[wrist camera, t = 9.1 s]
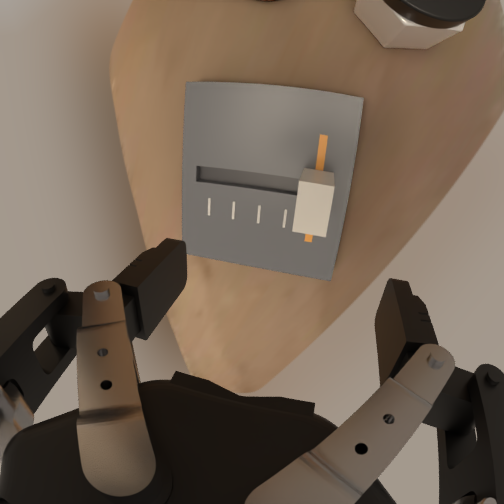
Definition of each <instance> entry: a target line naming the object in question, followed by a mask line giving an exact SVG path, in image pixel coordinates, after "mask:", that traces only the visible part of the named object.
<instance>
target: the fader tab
mask: <svg viewBox="0 0 504 504" xmlns="http://www.w3.org/2000/svg"><path fill="white" fill-rule="evenodd" d="M334 188H335V183H334V173H332V172H326V171H320V170H314V169H308V168H304V170H303V172H302V175H301V177H300V180H299V185H298V192H297V200H296V207H295V214H294V222H293V229H292V231H293V232H298V233H304V234H310V235H315V236H321V237H326V233H327V228H328V222H329V217H330V211H331V206H332V200H333V194H334Z"/></svg>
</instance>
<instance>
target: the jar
mask: <svg viewBox="0 0 504 504" xmlns="http://www.w3.org/2000/svg"><path fill="white" fill-rule="evenodd" d="M484 4H485V0H356V3H355V8H354V13H355V14H356V16H357V17H358V18H359V19H360V20H361V21H362V22H363V23H364V25H365V26H366V27H367V28H368V29H369V30H370V31H371V33H372V34H373V35H374V36H375V37H376V39H377V40H378V41H379V42H380V44H381V45H382V46H383V47H384V48H412V49H429V48H431V47H432V46H434V45H436V44H438V43H440V42H442V41H444V40H445V39H447V38H449V37H451V36H453V35H455V34H457V33H459V32H461V31H462V30H463V28H464V25H465V22H466V21H468V20H470V19H471V18H473V17H475V16H476V15H477V14H478V13H479V12H480V11H481V10H482V8H483V6H484Z"/></svg>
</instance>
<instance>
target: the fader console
mask: <svg viewBox="0 0 504 504" xmlns="http://www.w3.org/2000/svg"><path fill="white" fill-rule="evenodd" d="M363 100H364V98H361V97H356V96H351V95H345V94H339V93H333V92H327V91H320V90H313V89H305V88H297V87H288V86H278V85H267V84H253V83H234V82H186V91H185V108H184V130H183V162H182V241H184V242H185V243H186V253H187V254H189V255H194V256H199V257H205V258H210V259H215V260H220V261H225V262H230V263H236V264H241V265H246V266H251V267H257V268H262V269H267V270H272V271H278V272H283V273H289V274H294V275H299V276H305V277H310V278H316V279H321V280H327V281H331V278H332V274H333V269H334V265H335V261H336V256H337V252H338V247H339V243H340V238H341V233H342V228H343V223H344V219H345V213H346V208H347V203H348V198H349V192H350V187H351V181H352V175H353V170H354V163H355V157H356V151H357V144H358V138H359V131H360V123H361V116H362V108H363ZM304 168H308V169H314V170H320V171H326V172H332V173H334V183H335V188H334V194H333V200H332V206H331V211H330V217H329V222H328V228H327V233H326V237H321V236H315V235H310V234H304V233H298V232H293V231H292V229H293V222H294V214H295V207H296V200H297V192H298V185H299V180H300V177H301V175H302V172H303V170H304Z"/></svg>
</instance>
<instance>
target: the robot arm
mask: <svg viewBox="0 0 504 504" xmlns="http://www.w3.org/2000/svg"><path fill="white" fill-rule="evenodd" d="M186 281H187V253H186V243H185V242H184V241H181V240H175V239H170V238H166V239H165V240H164V241H163V242H161V243H160V244H159V245H158V246H157V247H156V248H151V249H149V250H147V251H145V252H143V253H141V254H140V255H139V256H138V257H137V258H136V260H134V261H133V262H132V263H130V266H129V265H128V267H126V268H125V269H124V270H123V271H122V272H121V273H120V274H119V275H118V276H117V277H116V278H114V279H113V280H112V281H108V280H104V281H98V282H95V283H92V284H91V285H89V286H88V287H87V288H86V289H85V290H84V292H69V291H67V287H66V283H65V281H64V280H62V279H59V278H50V279H46V280H43V281H41V282H39V283H38V284H37V285H36V286H35V287H33V288H32V289H31V290H30V291H29V292H28V293H27V294H26V295H25V296H23V297H22V298H21V299H20V300H19V301H18V302H17V303H16V304H15V305H14V306H13V307H12V308H11V309H10V310H9V311H7V312H6V313H5V314H4V315H3V316H2V317H1V318H0V463H2V465H1V475H0V504H396V502H395V501H394V500H393V499H392V497H391V496H390V494H389V493H388V492H387V490H386V489H385V488H384V487H383V485H382V484H381V482H380V481H379V480H378V477H379V476H380V475H381V473H382V472H383V471H384V470H385V468H387V466H388V465H389V464H390V463H391V462H392V460H393V459H394V458H395V457H396V456H397V454H398V453H399V452H400V451H401V449H402V448H403V447H404V445H405V444H406V443H407V442H408V440H409V439H410V438H411V436H412V435H413V433H414V432H415V431H416V429H417V428H418V427H419V425H420V424H421V423H425V424H427V425H430V426H433V427H436V428H437V438H438V453H439V504H504V374H503V372H502V371H501V370H499V369H498V368H497V367H495V366H493V365H490V364H482V365H480V366H479V367H478V368H477V369H476V371H475V372H474V373H471V372H468V371H466V370H463V369H460V368H458V367H455V361H454V358H453V356H452V355H451V354H450V352H449V351H447V350H446V349H445V348H443V347H441V346H439V345H438V341H437V338H436V335H435V332H434V329H433V325H432V323H431V320H430V317H429V315H428V311H427V308H426V305H425V304H424V302H423V301H422V300H421V299H420V298H419V297H418V296H415V295H413V294H412V291H411V288H410V285H409V282H408V281H402V280H397V279H392V278H390V279H389V280H388V281H387V284H386V287H385V290H384V293H383V296H382V298H381V301H380V304H379V307H378V310H377V313H376V318H375V332H376V343H377V353H378V364H379V376H380V388H379V389H378V390H377V391H376V392H375V393H374V394H373V395H372V396H371V397H370V398H369V399H368V400H367V401H366V402H365V403H364V404H363V405H362V406H361V407H360V408H359V409H358V410H357V411H356V412H355V413H354V414H353V415H352V416H350V417H349V418H348V419H347V420H346V421H345V422H344V423H343V424H342V425H341V426H340V427H337V426H336V425H334V424H333V423H332V422H330V421H328V420H327V419H325V418H323V417H321V416H319V415H317V414H315V413H314V407H315V403H312V402H306V401H300V400H294V399H289V398H284V397H245V396H239V395H237V394H235V393H233V392H231V391H229V390H227V389H225V388H223V387H221V386H219V385H217V384H215V383H213V382H211V381H209V380H206V379H202V378H199V377H195V376H191V375H188V374H184V373H181V372H178V371H176V372H175V373H174V375H173V377H172V379H171V380H153V381H147V382H143V383H141V381H140V377H139V373H138V368H137V363H136V359H135V354H134V349H133V344H132V341H133V339H134V338H135V337H137V338H141V339H143V340H147V339H148V338H149V336H150V335H151V333H152V332H153V331H154V329H155V328H156V326H157V325H158V324H159V322H160V321H161V319H162V318H163V317H164V315H165V314H166V313H167V311H168V310H169V308H170V307H171V306H172V304H173V303H174V302H175V300H176V299H177V297H178V296H179V295H180V293H181V292H182V291H183V289H184V287H185V285H186ZM44 327H45V328H46V331H47V333H48V336H47V337H46V339H45V340H44V341H43V342H42V343H41V344H40V345H39V347H38V348H37V349H36V350H35V351H33V341H34V339H35V337H36V336H37V335H38V333H39V332H40V331H41V330H42V329H43V328H44ZM76 355H77V383H78V400H79V408H78V409H75V410H73V411H70V412H67V413H64V414H62V415H59V416H56V417H54V418H51V419H48V420H45V421H42V422H40V423H37V424H34V425H33V422H34V413H35V412H36V410H37V409H38V407H39V406H40V404H41V403H42V402H43V400H44V399H45V397H46V396H47V394H48V393H49V392H50V390H51V389H52V387H53V386H54V384H55V383H56V382H57V381H58V379H59V378H60V376H61V375H62V374H63V372H64V371H65V370H66V368H67V367H68V366H69V364H70V363H71V361H72V360H73V359H74V358H75V356H76ZM475 427H476V431H477V441H476V434H475Z"/></svg>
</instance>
